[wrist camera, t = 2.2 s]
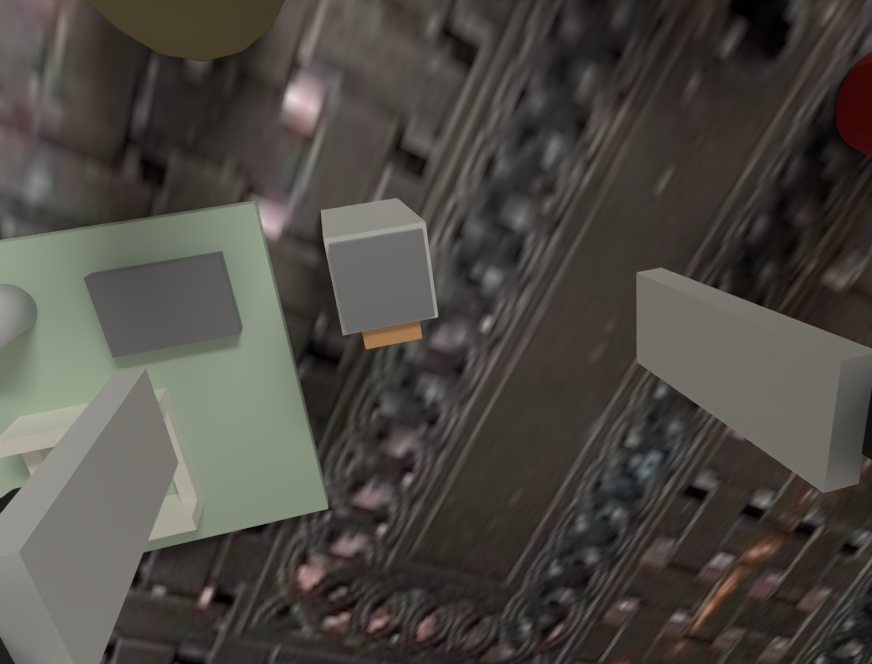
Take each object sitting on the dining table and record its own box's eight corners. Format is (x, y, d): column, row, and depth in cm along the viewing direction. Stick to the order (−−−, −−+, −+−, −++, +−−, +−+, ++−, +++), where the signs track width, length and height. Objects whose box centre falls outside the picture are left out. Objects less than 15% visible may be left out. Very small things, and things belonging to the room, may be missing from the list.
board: (-100, 255, 26) (-172, 277, 22) (256, 200, 28) (247, 211, 24) (48, 561, 32) (12, 620, 29) (327, 496, 35) (329, 542, 31)
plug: (320, 210, 29) (323, 240, 21) (397, 198, 30) (427, 223, 22) (338, 298, 31) (347, 356, 23) (410, 285, 31) (442, 338, 24)
